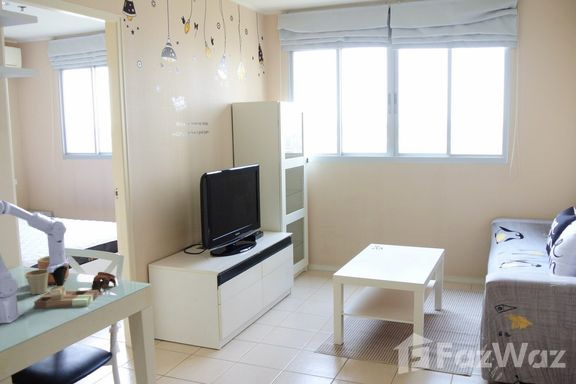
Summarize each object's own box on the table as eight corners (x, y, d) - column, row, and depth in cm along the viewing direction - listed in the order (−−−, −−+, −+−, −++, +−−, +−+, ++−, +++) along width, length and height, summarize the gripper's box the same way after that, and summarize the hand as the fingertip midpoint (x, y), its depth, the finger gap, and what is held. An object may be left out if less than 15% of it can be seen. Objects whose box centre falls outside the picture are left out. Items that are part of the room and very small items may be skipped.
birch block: (61, 299, 202) (60, 289, 201) (51, 300, 202) (49, 290, 201) (65, 295, 206) (64, 285, 205) (55, 296, 206) (54, 286, 205)
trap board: (87, 306, 200) (86, 299, 200) (34, 308, 201) (34, 301, 200) (98, 296, 212) (98, 289, 212) (49, 297, 213) (48, 291, 212)
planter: (48, 278, 242) (45, 255, 241) (74, 277, 241) (72, 254, 240) (34, 286, 230) (31, 262, 228) (62, 285, 229) (59, 261, 228)
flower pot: (41, 296, 215) (39, 275, 214) (21, 295, 217) (19, 275, 216) (56, 289, 224) (54, 269, 223) (36, 288, 226) (34, 269, 225)
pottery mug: (87, 290, 223) (93, 271, 225) (108, 296, 227) (114, 277, 230) (94, 289, 213) (101, 269, 216) (117, 295, 217) (123, 276, 220)
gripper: (58, 255, 197) (62, 291, 198) (75, 247, 211) (77, 280, 213) (40, 256, 197) (43, 291, 198) (57, 247, 211) (60, 280, 213)
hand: (60, 285), depth 206 cm, fingers closed
